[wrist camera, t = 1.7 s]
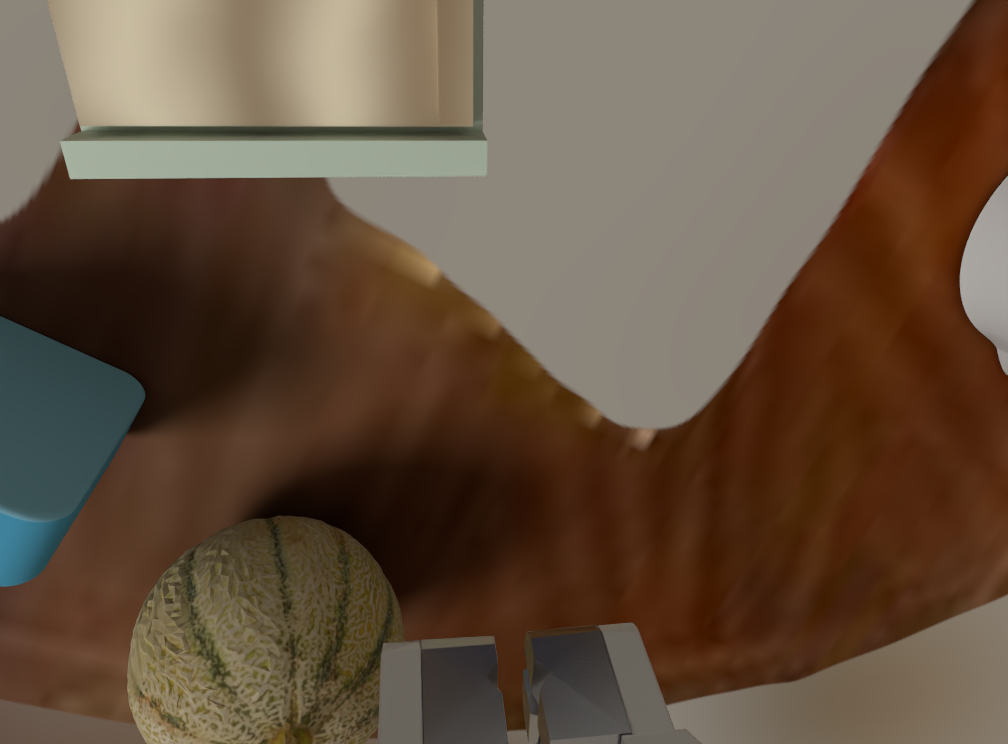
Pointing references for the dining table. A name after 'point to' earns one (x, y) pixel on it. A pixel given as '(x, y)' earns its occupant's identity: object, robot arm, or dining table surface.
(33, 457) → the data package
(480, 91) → the box
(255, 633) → the cantaloupe
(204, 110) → the cover plate
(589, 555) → the dining table surface
